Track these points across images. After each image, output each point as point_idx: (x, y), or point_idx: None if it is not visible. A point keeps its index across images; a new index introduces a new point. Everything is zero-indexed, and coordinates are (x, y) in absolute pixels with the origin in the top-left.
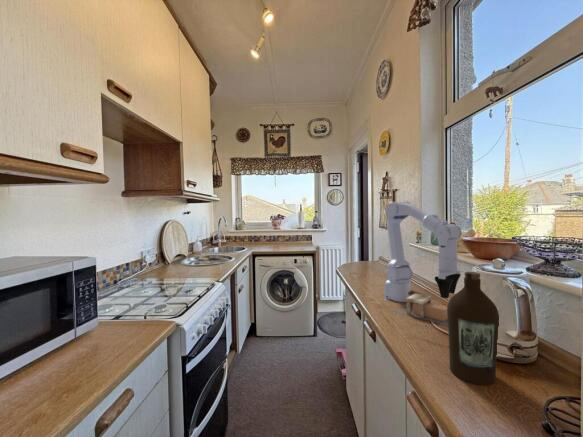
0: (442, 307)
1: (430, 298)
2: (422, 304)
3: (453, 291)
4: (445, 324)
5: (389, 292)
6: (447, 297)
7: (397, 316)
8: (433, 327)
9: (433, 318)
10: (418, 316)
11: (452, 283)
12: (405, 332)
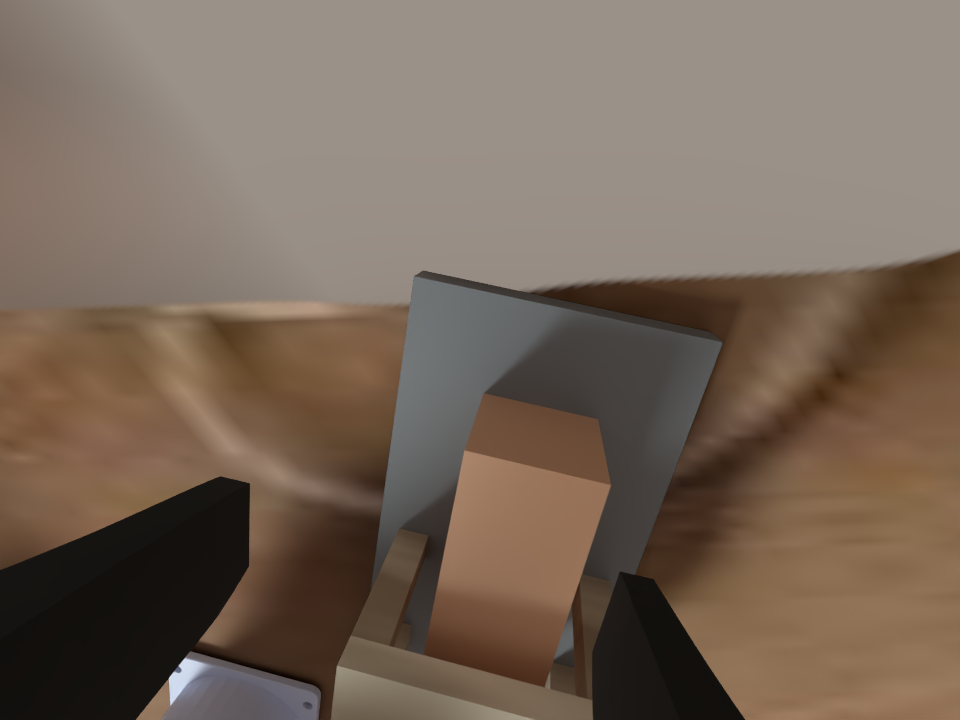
0: (521, 507)
1: (372, 654)
2: None
3: (222, 511)
4: (687, 409)
5: None
6: (661, 595)
7: None
8: (714, 482)
9: None
10: None
11: (65, 676)
12: (935, 655)
